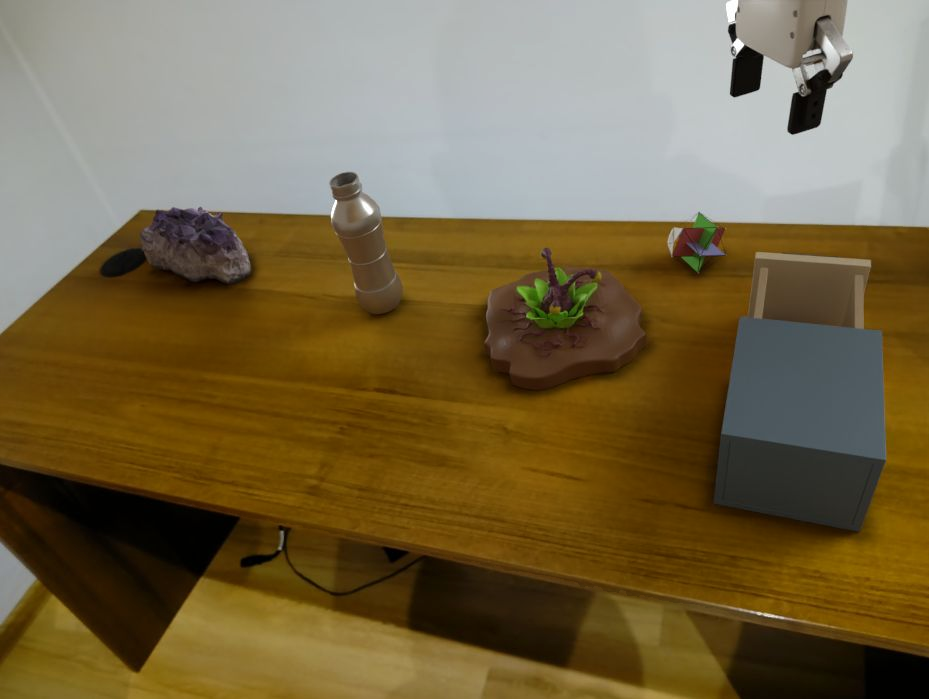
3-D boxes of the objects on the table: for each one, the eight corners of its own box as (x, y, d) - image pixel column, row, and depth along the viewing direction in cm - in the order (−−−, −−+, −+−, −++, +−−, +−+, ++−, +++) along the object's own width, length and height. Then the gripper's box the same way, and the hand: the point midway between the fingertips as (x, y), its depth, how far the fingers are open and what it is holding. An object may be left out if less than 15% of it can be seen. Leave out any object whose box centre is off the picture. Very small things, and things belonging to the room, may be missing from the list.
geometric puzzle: (718, 223, 98) (688, 194, 93) (749, 248, 93) (719, 219, 88) (680, 263, 100) (648, 236, 95) (708, 289, 95) (677, 263, 90)
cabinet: (731, 388, 79) (739, 316, 72) (859, 405, 75) (881, 330, 68) (713, 503, 69) (721, 433, 62) (860, 532, 65) (886, 460, 58)
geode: (278, 250, 116) (251, 203, 109) (233, 301, 111) (202, 255, 103) (192, 227, 125) (162, 181, 118) (147, 272, 120) (112, 228, 112)
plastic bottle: (352, 315, 101) (306, 191, 87) (377, 286, 105) (337, 163, 91) (390, 324, 98) (349, 197, 84) (415, 293, 102) (379, 168, 88)
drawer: (751, 288, 89) (759, 230, 83) (854, 298, 85) (870, 236, 79) (735, 398, 77) (743, 338, 71) (854, 415, 73) (873, 353, 67)
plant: (612, 266, 98) (610, 196, 91) (664, 361, 84) (666, 287, 76) (471, 300, 98) (456, 232, 91) (498, 401, 84) (483, 331, 76)
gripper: (914, -74, 54) (865, 134, 66) (776, -108, 67) (755, 71, 79) (826, -49, 54) (792, 158, 65) (703, -89, 66) (693, 90, 78)
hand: (772, 110), depth 72 cm, fingers open, 9 cm apart
